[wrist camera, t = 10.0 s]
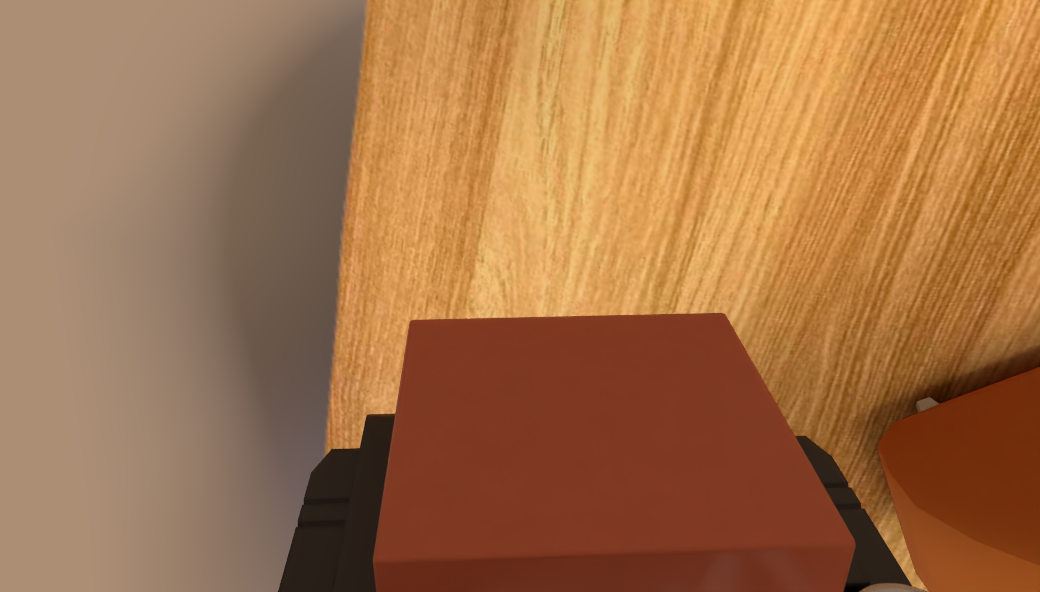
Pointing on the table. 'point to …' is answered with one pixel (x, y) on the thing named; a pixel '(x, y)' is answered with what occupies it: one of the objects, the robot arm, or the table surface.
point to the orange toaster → (970, 487)
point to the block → (598, 464)
